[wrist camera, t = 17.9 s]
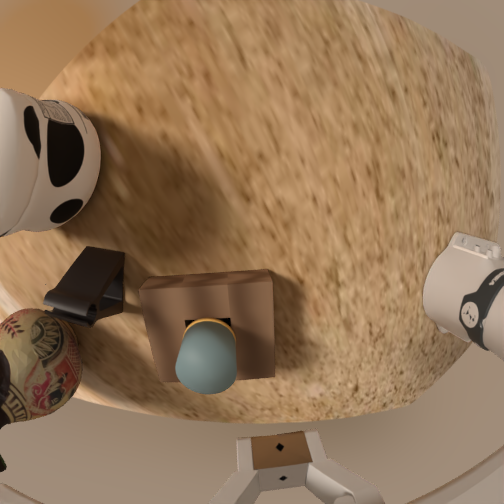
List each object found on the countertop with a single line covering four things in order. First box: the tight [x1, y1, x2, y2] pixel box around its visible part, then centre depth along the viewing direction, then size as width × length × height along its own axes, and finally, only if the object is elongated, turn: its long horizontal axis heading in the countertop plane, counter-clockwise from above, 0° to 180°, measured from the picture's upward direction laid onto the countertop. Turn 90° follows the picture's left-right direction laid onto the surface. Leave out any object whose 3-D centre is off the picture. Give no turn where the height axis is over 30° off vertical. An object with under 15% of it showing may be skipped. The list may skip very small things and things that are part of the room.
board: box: [138, 269, 275, 382], centre depth 37 cm, size 16×14×5 cm
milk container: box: [0, 88, 101, 237], centre depth 24 cm, size 17×17×18 cm
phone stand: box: [43, 246, 125, 328], centre depth 31 cm, size 9×6×12 cm, turn 170°
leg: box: [175, 318, 237, 394], centre depth 33 cm, size 6×6×12 cm
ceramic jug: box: [0, 284, 82, 472], centre depth 23 cm, size 17×15×30 cm
